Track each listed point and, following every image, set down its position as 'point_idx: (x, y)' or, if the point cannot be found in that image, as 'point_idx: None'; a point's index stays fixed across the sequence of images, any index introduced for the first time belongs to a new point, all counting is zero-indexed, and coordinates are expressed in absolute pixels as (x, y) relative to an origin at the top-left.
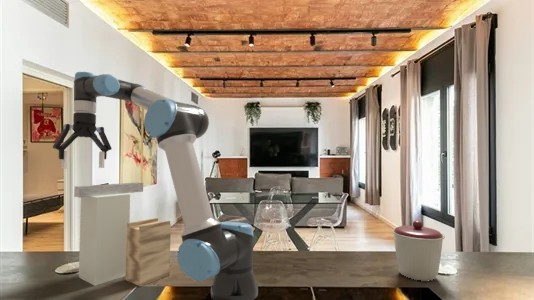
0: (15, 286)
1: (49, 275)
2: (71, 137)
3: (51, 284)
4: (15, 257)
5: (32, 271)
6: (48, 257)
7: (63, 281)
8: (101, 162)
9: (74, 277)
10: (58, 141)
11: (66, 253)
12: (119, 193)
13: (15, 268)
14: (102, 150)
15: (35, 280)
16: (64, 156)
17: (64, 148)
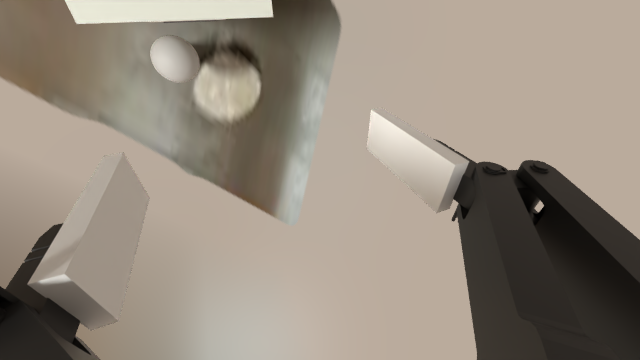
0: (323, 53)
1: (273, 69)
2: (556, 300)
3: (282, 10)
4: (291, 197)
5: (289, 113)
6: (254, 172)
7: None
8: (120, 192)
9: None
10: (592, 201)
11: (225, 178)
12: None
13: (303, 145)
14: (62, 329)
15: (296, 59)
16: (433, 141)
17: (487, 173)
